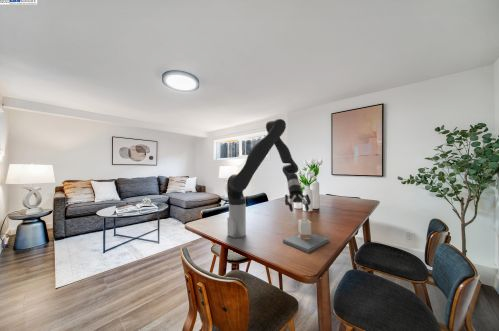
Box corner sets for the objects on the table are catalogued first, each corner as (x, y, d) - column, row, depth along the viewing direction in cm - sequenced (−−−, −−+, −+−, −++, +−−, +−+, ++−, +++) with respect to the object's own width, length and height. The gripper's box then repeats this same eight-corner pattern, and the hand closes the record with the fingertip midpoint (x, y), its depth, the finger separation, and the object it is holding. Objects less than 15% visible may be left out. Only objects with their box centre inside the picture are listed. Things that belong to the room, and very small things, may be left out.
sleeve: (311, 238, 89) (311, 222, 89) (301, 238, 89) (300, 222, 89) (308, 234, 94) (307, 219, 94) (298, 234, 94) (298, 219, 94)
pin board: (308, 252, 78) (307, 240, 78) (282, 242, 89) (282, 231, 89) (328, 241, 89) (328, 230, 89) (304, 233, 100) (304, 223, 100)
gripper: (283, 184, 110) (287, 207, 98) (307, 184, 109) (314, 207, 98) (282, 191, 115) (286, 214, 103) (304, 191, 115) (310, 214, 103)
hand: (299, 210), depth 101 cm, fingers open, 8 cm apart
